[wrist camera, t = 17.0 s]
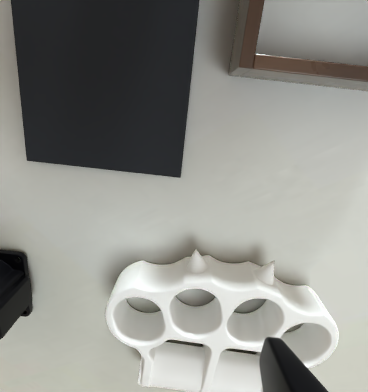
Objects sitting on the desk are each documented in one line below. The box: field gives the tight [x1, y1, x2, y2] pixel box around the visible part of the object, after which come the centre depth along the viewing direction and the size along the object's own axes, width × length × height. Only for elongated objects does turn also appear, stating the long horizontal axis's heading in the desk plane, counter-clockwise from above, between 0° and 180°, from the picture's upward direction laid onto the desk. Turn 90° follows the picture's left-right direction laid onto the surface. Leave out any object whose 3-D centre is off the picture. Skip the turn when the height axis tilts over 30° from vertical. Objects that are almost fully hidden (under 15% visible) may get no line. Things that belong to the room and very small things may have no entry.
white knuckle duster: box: [105, 249, 339, 392], centre depth 22 cm, size 3×18×15 cm
